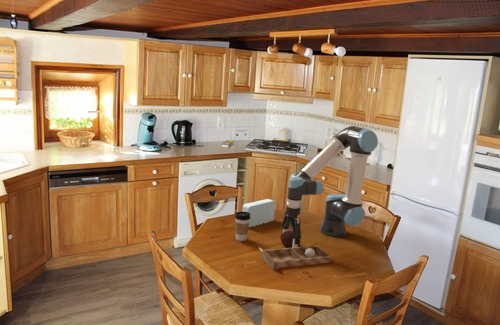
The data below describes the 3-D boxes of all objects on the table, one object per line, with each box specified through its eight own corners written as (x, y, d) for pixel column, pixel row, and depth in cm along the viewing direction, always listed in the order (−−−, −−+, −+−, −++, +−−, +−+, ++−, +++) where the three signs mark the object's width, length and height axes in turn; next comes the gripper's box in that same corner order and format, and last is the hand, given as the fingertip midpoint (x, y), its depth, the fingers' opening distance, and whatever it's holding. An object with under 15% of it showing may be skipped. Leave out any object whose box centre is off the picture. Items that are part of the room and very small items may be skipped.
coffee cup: (246, 242, 240) (248, 216, 237) (231, 240, 241) (233, 214, 238) (250, 237, 248) (252, 211, 245) (235, 235, 250) (237, 209, 246)
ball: (311, 255, 228) (312, 246, 226) (316, 259, 223) (317, 250, 222) (302, 256, 226) (303, 246, 225) (307, 260, 221) (308, 250, 220)
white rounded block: (266, 218, 281) (268, 198, 279) (273, 220, 277) (275, 200, 275) (240, 225, 265) (241, 204, 262) (246, 228, 261) (248, 206, 258)
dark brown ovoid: (294, 253, 231) (296, 236, 229) (275, 246, 238) (277, 230, 236) (303, 248, 238) (305, 232, 236) (284, 242, 245) (286, 226, 243)
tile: (269, 247, 236) (269, 246, 236) (276, 255, 227) (276, 253, 227) (258, 248, 234) (258, 246, 234) (265, 256, 225) (266, 254, 224)
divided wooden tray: (316, 252, 234) (317, 245, 233) (330, 264, 221) (330, 256, 220) (262, 257, 223) (262, 250, 222) (273, 270, 210) (273, 262, 209)
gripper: (277, 199, 243) (274, 236, 247) (297, 214, 221) (293, 254, 225) (290, 199, 245) (286, 236, 250) (310, 213, 223) (306, 253, 228)
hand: (289, 245), depth 238 cm, fingers open, 12 cm apart
